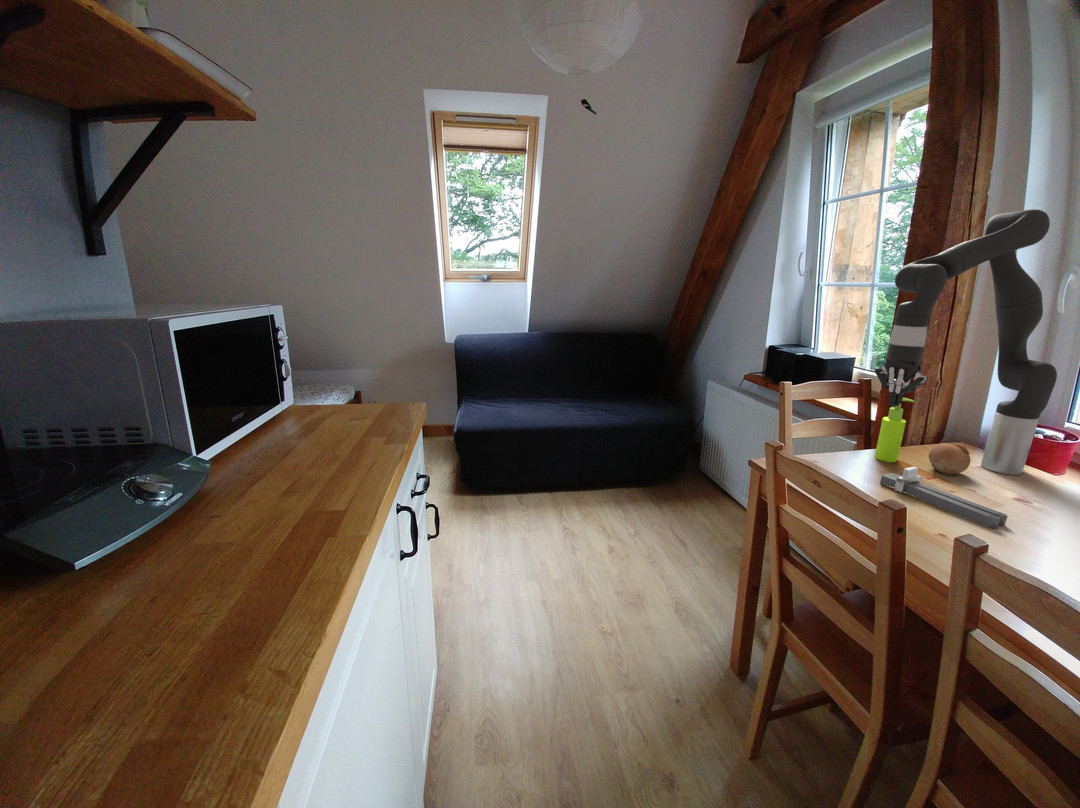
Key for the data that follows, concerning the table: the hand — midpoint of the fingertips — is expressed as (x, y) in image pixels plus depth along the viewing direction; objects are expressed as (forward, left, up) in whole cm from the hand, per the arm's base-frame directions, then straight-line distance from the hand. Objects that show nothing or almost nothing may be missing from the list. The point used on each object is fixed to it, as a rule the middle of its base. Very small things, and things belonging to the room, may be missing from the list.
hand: (894, 405), depth 132 cm
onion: (-24, +4, -22) cm, 33 cm away
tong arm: (-2, +17, -22) cm, 28 cm away
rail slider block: (0, +8, -22) cm, 23 cm away
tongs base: (0, +15, -22) cm, 27 cm away
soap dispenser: (-18, -9, -22) cm, 30 cm away
